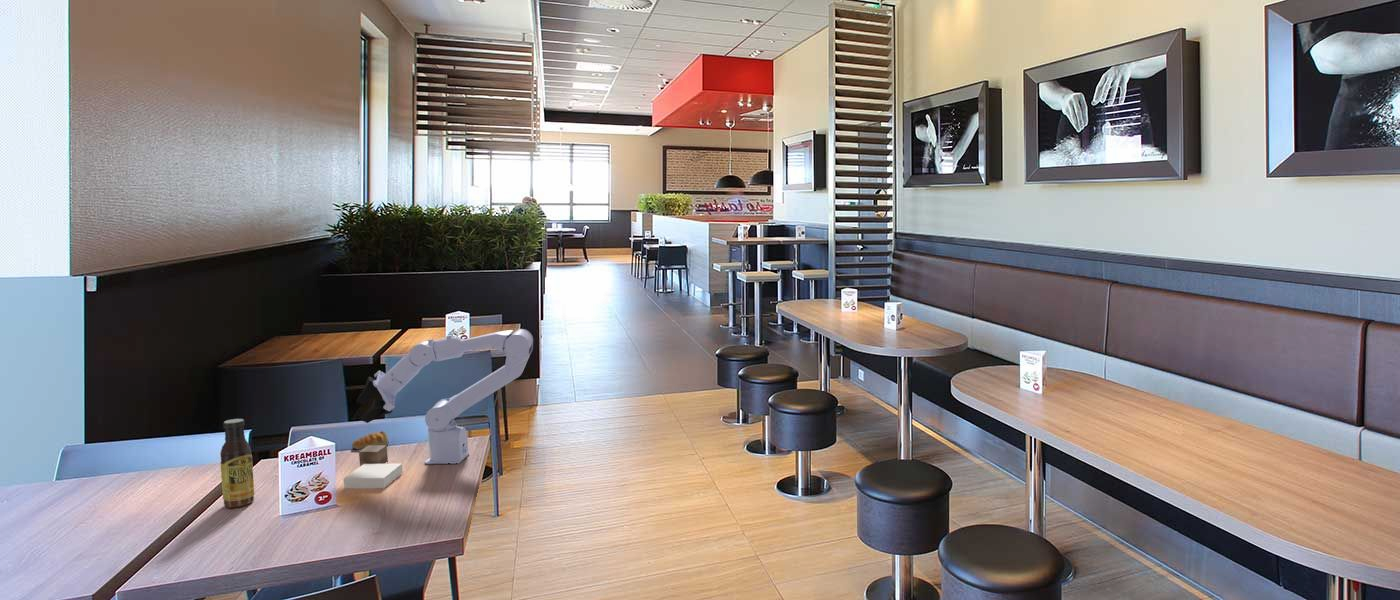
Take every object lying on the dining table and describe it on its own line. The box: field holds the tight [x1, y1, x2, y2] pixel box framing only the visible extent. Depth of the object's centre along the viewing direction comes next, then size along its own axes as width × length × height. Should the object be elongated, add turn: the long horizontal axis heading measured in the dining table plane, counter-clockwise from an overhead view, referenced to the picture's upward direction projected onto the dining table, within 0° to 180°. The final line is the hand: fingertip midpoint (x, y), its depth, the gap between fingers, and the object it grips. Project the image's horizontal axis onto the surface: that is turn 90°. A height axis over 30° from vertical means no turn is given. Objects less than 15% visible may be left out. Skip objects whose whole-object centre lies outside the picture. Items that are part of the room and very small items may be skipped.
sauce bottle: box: [220, 418, 255, 509], centre depth 166 cm, size 6×6×20 cm
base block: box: [343, 463, 404, 489], centre depth 180 cm, size 10×10×3 cm
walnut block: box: [358, 445, 389, 467], centre depth 190 cm, size 5×5×5 cm
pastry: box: [351, 430, 390, 451], centre depth 207 cm, size 9×7×4 cm
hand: (361, 411), depth 191 cm, fingers open, 7 cm apart
